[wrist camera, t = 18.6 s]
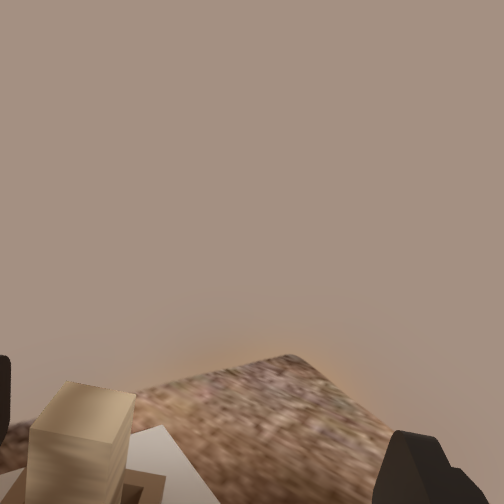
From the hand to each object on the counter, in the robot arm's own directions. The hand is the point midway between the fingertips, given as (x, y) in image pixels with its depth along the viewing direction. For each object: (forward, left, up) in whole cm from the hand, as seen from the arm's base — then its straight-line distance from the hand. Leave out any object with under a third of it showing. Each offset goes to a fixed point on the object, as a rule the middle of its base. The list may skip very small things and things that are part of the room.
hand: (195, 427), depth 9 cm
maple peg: (-5, -18, -26) cm, 32 cm away
